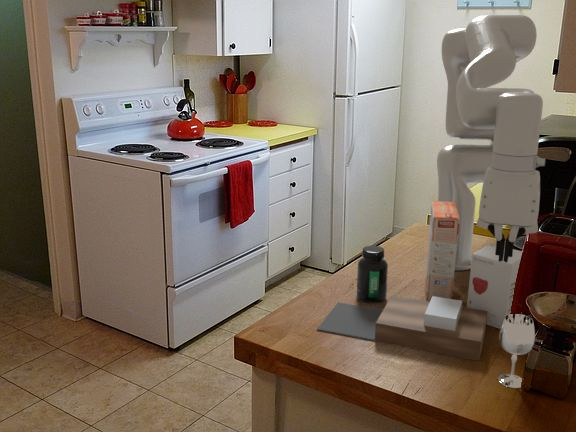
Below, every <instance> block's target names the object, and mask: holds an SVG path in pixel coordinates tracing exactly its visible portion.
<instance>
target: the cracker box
mask: <svg viewBox="0 0 576 432" xmlns="http://www.w3.org/2000/svg"><path fill="white" fill-rule="evenodd" d="M429 218H430V220H429V232H428V234H429V235H428V242H427V243H428V244H427V255H426V268H425V270H426V271H425V279H424V283H425V284H424V285H425V301H428V302H430V301H431V298H432V296H435V297H441V298H448V299H453V290H454V281H455V280H454V279H455V271H456V270H455V261H456V251H457V241H458V231H459V221H460V219H459V215H458V211H457V206H456V203H454V202H439V201H438V200H437V201H436V200H434V201H433V200H432V201H431V205H430V217H429Z"/></svg>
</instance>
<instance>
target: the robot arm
mask: <svg viewBox="0 0 576 432" xmlns="http://www.w3.org/2000/svg"><path fill="white" fill-rule="evenodd" d="M537 36H538V35H537V27H536V24H535V22H534V21H533V20H532V18H530V17H529V16H527V15H525V14H524V15H521V14H487V15H479V16H478V17H475V18H474V19H472V20H471V21H470V22H468V24H467V26H466V27H462V28H461V27H460V28H455V29H451V30H449V31H447V32H446V33H445V34H444V36H443V37H442V42H441V60H442V63H443V64H442V65H443V67H444V72H445V74H446V80H447V91H446V93H447V94H446V107H445V108H446V109H445V111H446V112H445V131H446V134H447V135H448V137H449V138H451V139H455V140H456V139H457V140H481V141H486V140H487V141H489V144H450V145H447V146H444V147H443V148H441V149H440V150H439V152H438V154H437V157H436V166H437V168H436V169H437V182H438V183H437V184H438V186H437V187H438V191H437V201H439V202H454V203H456V206H457V211H458V215H459V219H460V221H459V231H458V241H457V251H456V261H455V271H467V270H471V260H472V246H473V233H474V226H475V225H474V224H476V226H477V227H478V228H481V229H484V230H488V232H490V234H492V236H493V237H494V239H495V240H496V243H495V245H496V252H495V255H498V256H499V260H498V261H500V262H501V261H505V262H508V257H512V254H513V249H514V243H515V241H517V240H518V239H519V238H521V237H522V236H524V235H526V234H528V235H529V234H536V233H538V231H539V226H538V224H539V223H538V217H539V212H540V202H541V201H540V200H541V199H540V198H541V175H540V171H539V170H536V169H537V168H539V167H545V165H546V158H542V157H539V155H538V150H539V143H540V142H539V141H540V135H541V134H540V132H541V124H542V115H543V106H544V102H543V97H542V96H541V95H539V94H537V93H535V92H534V91H533V90H531V89H530V88H529V89H528V88H513V87H511V88H507V87H492V86H495V85H497V84H500V83H502V82H504V81H505V80H507V79H508V78H509V77H510V76H511V75H512V74H513V72H514V70H515V69H516V65H517V63H518V62H520V61H522V60H524V59H525V58H526V57H528V56H529V55H531V54H532V52H533V50H534V48H535V47H536V44H537V43H536V41H537V38H538V37H537ZM473 183H481V184H482V187H481V193H480V200H479V207H478V218H477V221H476V223H475V213H476V203H477V202H476V196H475V195H474V193H473V192H472V190H471V189H470V188H469V187H468V184H473ZM503 226H507V227H508V226H510V227H511V228H510V232H509V234H507V237H506V238H505V234H504V230H503V229H504V228H503ZM504 247H505V251H504ZM503 256H504V260H503Z"/></svg>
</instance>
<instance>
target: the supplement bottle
mask: <svg viewBox="0 0 576 432" xmlns="http://www.w3.org/2000/svg"><path fill="white" fill-rule="evenodd" d="M361 256H362V257H361V258H360V259H359V260H358V262H357V271H356V272H357V276H356V298H357V299H358V300H359V301H361V302H363V303H366V304H379V303H382V302H384V301H385V300H386V299H387V291H388V274H389V272H388V271H389V269H388V268H389V264H388V262H387V260H385V249H384V248H383V247H382V246H378V245H366V246H363V248H362V253H361Z"/></svg>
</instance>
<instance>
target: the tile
mask: <svg viewBox="0 0 576 432" xmlns="http://www.w3.org/2000/svg"><path fill="white" fill-rule="evenodd" d="M462 307H463V300H461V299H453V298H452V299H448V298H441V297H435V296H432V298H431V301H430V303H429V305H428V307H427V310H426V312H425V316H424V326H429V327H435V328H441V329H446V330H452V331H455V330H456V327H457V324H458V321H459V317H460V314H461V309H462Z"/></svg>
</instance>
